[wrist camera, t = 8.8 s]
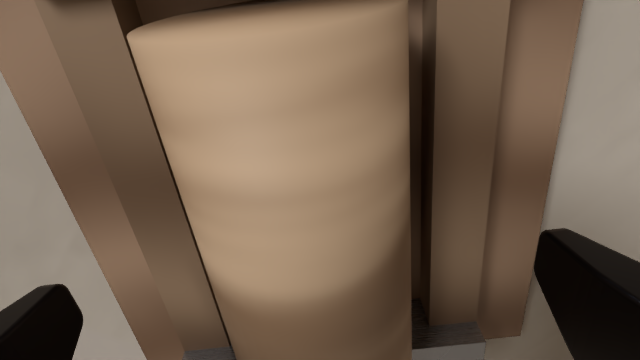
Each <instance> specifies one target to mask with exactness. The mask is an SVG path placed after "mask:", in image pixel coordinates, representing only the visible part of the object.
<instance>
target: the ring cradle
mask: <svg viewBox="0 0 640 360" xmlns="http://www.w3.org/2000/svg"><path fill="white" fill-rule="evenodd" d="M247 1H253V0H0V71H1V73H2V75H3V77H4V79H5V81H6V83H7V85H8V86H9V88H10V90H11V92H12V94H13V96H14V98H15V100H16V102H17V104H18V106H19V108H20V110H21V112H22V114H23V116H24V118H25V120H26V122H27V124H28V126H29V128H30V130H31V132H32V134H33V136H34V138H35V140H36V142H37V144H38V146H39V148H40V150H41V152H42V154H43V156H44V158H45V159H46V161H47V163H48V165H49V167H50V169H51V171H52V173H53V175H54V177H55V179H56V181H57V183H58V185H59V187H60V189H61V191H62V193H63V195H64V197H65V199H66V201H67V203H68V205H69V207H70V209H71V211H72V213H73V215H74V217H75V219H76V221H77V223H78V225H79V227H80V229H81V230H82V232H83V234H84V236H85V238H86V240H87V242H88V244H89V246H90V248H91V250H92V252H93V254H94V256H95V258H96V260H97V262H98V264H99V266H100V268H101V270H102V272H103V274H104V276H105V278H106V280H107V282H108V284H109V286H110V288H111V290H112V292H113V294H114V296H115V298H116V300H117V302H118V303H119V305H120V307H121V309H122V311H123V313H124V315H125V317H126V319H127V321H128V323H129V325H130V327H131V329H132V331H133V333H134V335H135V337H136V339H137V341H138V343H139V345H140V347H141V349H142V351H143V353H144V355H145V357H146V359H147V360H237V359H236V356H235V353H234V350H233V347H232V345H231V342H230V339H229V336H228V333H227V330H226V327H225V324H224V321H223V318H222V315H221V312H220V309H219V306H218V303H217V301H216V298H215V295H214V292H213V289H212V286H211V283H210V280H209V277H208V274H207V271H206V268H205V265H204V262H203V259H202V257H201V254H200V251H199V248H198V245H197V242H196V239H195V236H194V233H193V230H192V227H191V224H190V221H189V218H188V216H187V213H186V210H185V207H184V204H183V201H182V198H181V195H180V192H179V189H178V186H177V183H176V180H175V177H174V174H173V172H172V169H171V166H170V163H169V160H168V157H167V154H166V151H165V148H164V145H163V142H162V139H161V136H160V133H159V131H158V128H157V125H156V122H155V119H154V116H153V113H152V110H151V107H150V104H149V101H148V98H147V95H146V92H145V89H144V87H143V84H142V81H141V78H140V75H139V72H138V69H137V66H136V63H135V60H134V57H133V54H132V51H131V48H130V45H129V43H128V40H127V37H126V36H127V34H128V33H129V32H131V31H132V30H134V29H136V28H138V27H141V26H143V25H146V24H149V23H152V22H155V21H158V20H162V19H165V18H169V17H173V16H177V15H181V14H185V13H189V12H194V11H198V10H203V9H208V8H213V7H218V6H224V5H229V4H235V3H241V2H247ZM583 1H584V0H408V26H409V125H410V223H411V321H412V360H484V353H485V345H486V341H485V339H492V338H502V337H512V336H520V334H521V329H522V324H523V318H524V313H525V308H526V303H527V297H528V292H529V287H530V281H531V276H532V271H533V265H534V260H535V255H536V250H537V244H538V239H539V234H540V228H541V223H542V218H543V212H544V207H545V202H546V197H547V191H548V186H549V181H550V175H551V170H552V165H553V159H554V154H555V149H556V144H557V138H558V133H559V128H560V122H561V117H562V112H563V106H564V101H565V96H566V91H567V85H568V80H569V75H570V69H571V64H572V59H573V53H574V48H575V43H576V38H577V32H578V27H579V22H580V16H581V11H582V6H583Z"/></svg>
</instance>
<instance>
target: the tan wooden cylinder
mask: <svg viewBox="0 0 640 360" xmlns="http://www.w3.org/2000/svg"><path fill="white" fill-rule="evenodd" d="M126 37H127V40H128V43H129V45H130V48H131V51H132V54H133V57H134V60H135V63H136V66H137V69H138V72H139V75H140V78H141V81H142V84H143V87H144V89H145V92H146V95H147V98H148V101H149V104H150V107H151V110H152V113H153V116H154V119H155V122H156V125H157V128H158V131H159V133H160V136H161V139H162V142H163V145H164V148H165V151H166V154H167V157H168V160H169V163H170V166H171V169H172V172H173V174H174V177H175V180H176V183H177V186H178V189H179V192H180V195H181V198H182V201H183V204H184V207H185V210H186V213H187V216H188V218H189V221H190V224H191V227H192V230H193V233H194V236H195V239H196V242H197V245H198V248H199V251H200V254H201V257H202V259H203V262H204V265H205V268H206V271H207V274H208V277H209V280H210V283H211V286H212V289H213V292H214V295H215V298H216V301H217V303H218V306H219V309H220V312H221V315H222V318H223V321H224V324H225V327H226V330H227V333H228V336H229V339H230V342H231V345H232V347H233V350H234V353H235V356H236V359H237V360H412V321H411V223H410V125H409V26H408V0H253V1H247V2H241V3H235V4H229V5H224V6H218V7H213V8H208V9H203V10H198V11H194V12H189V13H185V14H181V15H177V16H173V17H169V18H165V19H162V20H158V21H155V22H152V23H149V24H146V25H143V26H141V27H138V28H136V29H134V30H132V31H131V32H129V33H128V34H127V36H126Z"/></svg>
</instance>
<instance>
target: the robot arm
mask: <svg viewBox="0 0 640 360" xmlns="http://www.w3.org/2000/svg"><path fill="white" fill-rule="evenodd" d="M534 272H535V276H536V278H537V281H538V283H539V285H540V287H541V289H542V292H543V294H544V296H545V298H546V301H547V303H548V305H549V307H550V309H551V312H552V314H553V316H554V318H555V321H556V323H557V325H558V327H559V329H560V332H561V334H562V336H563V338H564V340H565V343H566V345H567V347H568V349H569V351H570V353H571V355H572V356H573V358H574V360H640V262H638V261H635V260H633V259H631V258H629V257H627V256H625V255H623V254H620V253H618V252H616V251H614V250H612V249H610V248H608V247H605V246H603V245H601V244H599V243H597V242H595V241H593V240H590V239H588V238H586V237H584V236H582V235H580V234H578V233H575V232H573V231H571V230H569V229H565V228H561V229H552V230H545V231H543V232H542V233H541V234H540V236H539V240H538V245H537V251H536V256H535V261H534ZM82 325H83V315H82V312H81V310H80V308H79V307H78V305H77V303H76V302H75V300H74V298H73V296H72V295H71V293H70V291H69V290H68V288H67V287H66V286H64V285H63V284H53V285H44V286H40V287H37V288H36V289H34V290H33V291H31V292H30V293H28V294H26V295H25V296H23V297H22V298H20V299H19V300H17V301H16V302H14V303H13V304H11V305H10V306H8V307H7V308H5V309H3V310H2V311H0V360H72V358H73V355H74V351H75V348H76V345H77V342H78V339H79V336H80V332H81V329H82Z"/></svg>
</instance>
